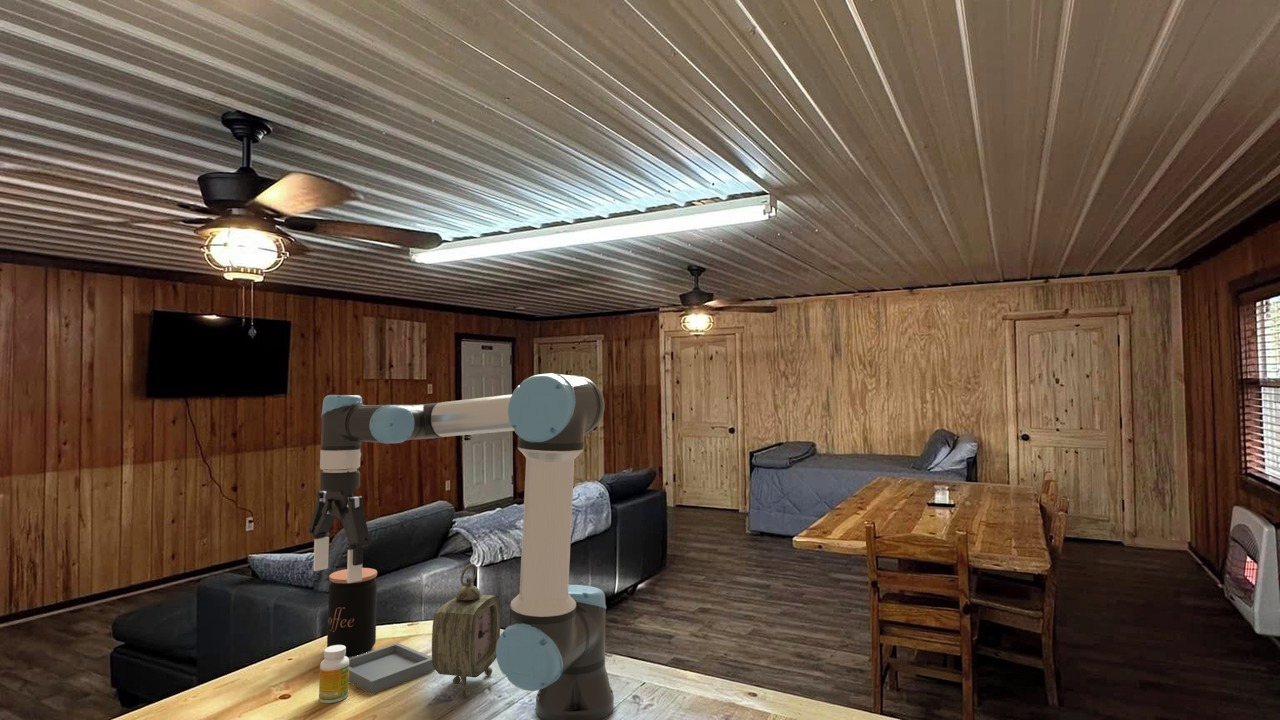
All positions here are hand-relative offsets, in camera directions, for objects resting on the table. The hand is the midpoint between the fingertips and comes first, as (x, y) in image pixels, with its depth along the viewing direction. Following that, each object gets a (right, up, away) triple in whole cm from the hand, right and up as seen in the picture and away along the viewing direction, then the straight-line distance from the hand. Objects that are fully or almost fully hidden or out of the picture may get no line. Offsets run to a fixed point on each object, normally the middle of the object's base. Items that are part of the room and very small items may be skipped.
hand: (337, 575), depth 133 cm
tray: (+6, -25, +11) cm, 28 cm away
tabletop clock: (+25, -25, +4) cm, 35 cm away
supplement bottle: (0, -24, -1) cm, 24 cm away
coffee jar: (-7, -26, +23) cm, 35 cm away
